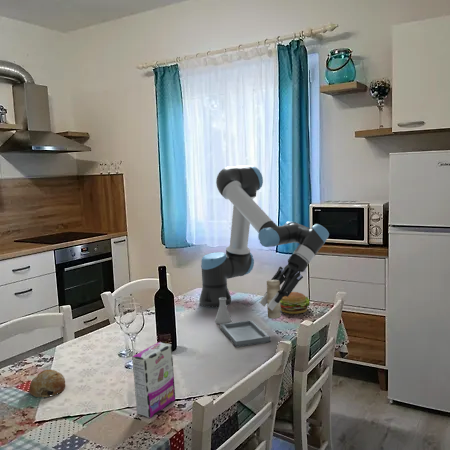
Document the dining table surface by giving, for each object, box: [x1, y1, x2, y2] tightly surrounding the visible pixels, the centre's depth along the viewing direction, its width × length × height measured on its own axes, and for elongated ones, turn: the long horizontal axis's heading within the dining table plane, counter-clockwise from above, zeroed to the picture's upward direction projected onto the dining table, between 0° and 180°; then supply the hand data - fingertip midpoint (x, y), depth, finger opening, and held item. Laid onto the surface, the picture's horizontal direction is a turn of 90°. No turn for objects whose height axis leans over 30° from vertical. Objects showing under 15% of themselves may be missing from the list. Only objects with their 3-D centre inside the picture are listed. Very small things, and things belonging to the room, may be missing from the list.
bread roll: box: [29, 369, 66, 399], centre depth 140 cm, size 10×10×8 cm
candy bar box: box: [131, 341, 176, 419], centre depth 127 cm, size 11×5×16 cm, turn 148°
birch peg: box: [266, 279, 282, 320], centre depth 180 cm, size 5×5×14 cm
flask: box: [214, 298, 233, 325], centre depth 195 cm, size 7×7×10 cm
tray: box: [220, 319, 271, 348], centre depth 179 cm, size 20×13×2 cm, turn 17°
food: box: [280, 291, 310, 315], centre depth 206 cm, size 14×14×8 cm
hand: (265, 306), depth 179 cm, fingers closed on birch peg, 5 cm apart
